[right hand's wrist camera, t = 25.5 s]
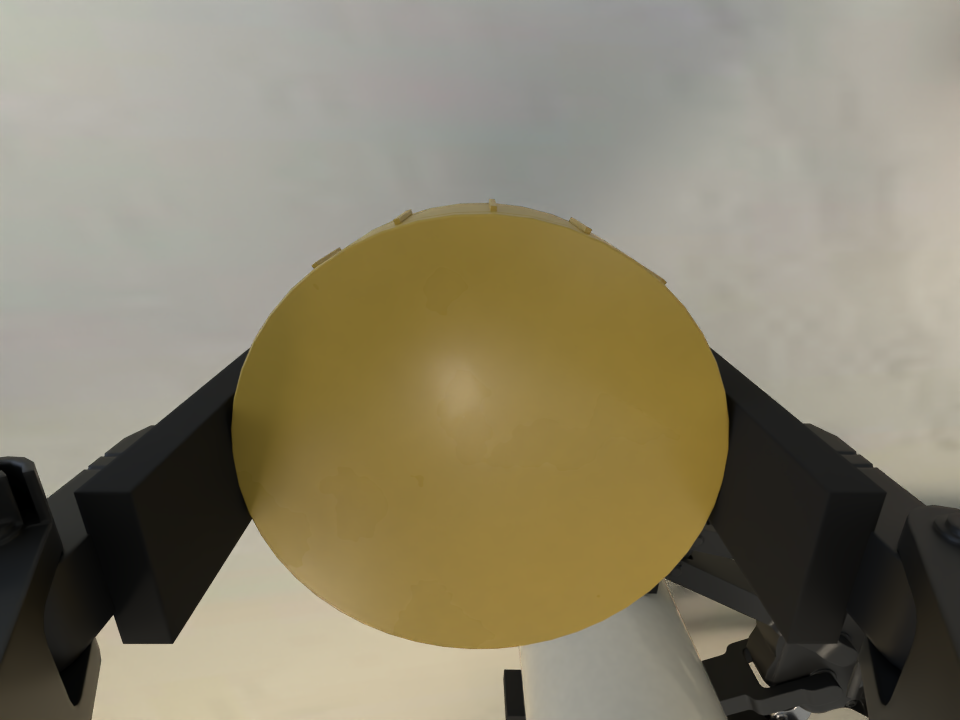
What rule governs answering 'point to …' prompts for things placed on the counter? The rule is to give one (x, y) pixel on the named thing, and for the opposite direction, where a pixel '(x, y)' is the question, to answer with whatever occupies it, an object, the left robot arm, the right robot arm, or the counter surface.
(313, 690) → the counter surface
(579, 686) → the jar
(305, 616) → the counter surface
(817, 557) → the right robot arm
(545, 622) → the lid
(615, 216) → the counter surface
